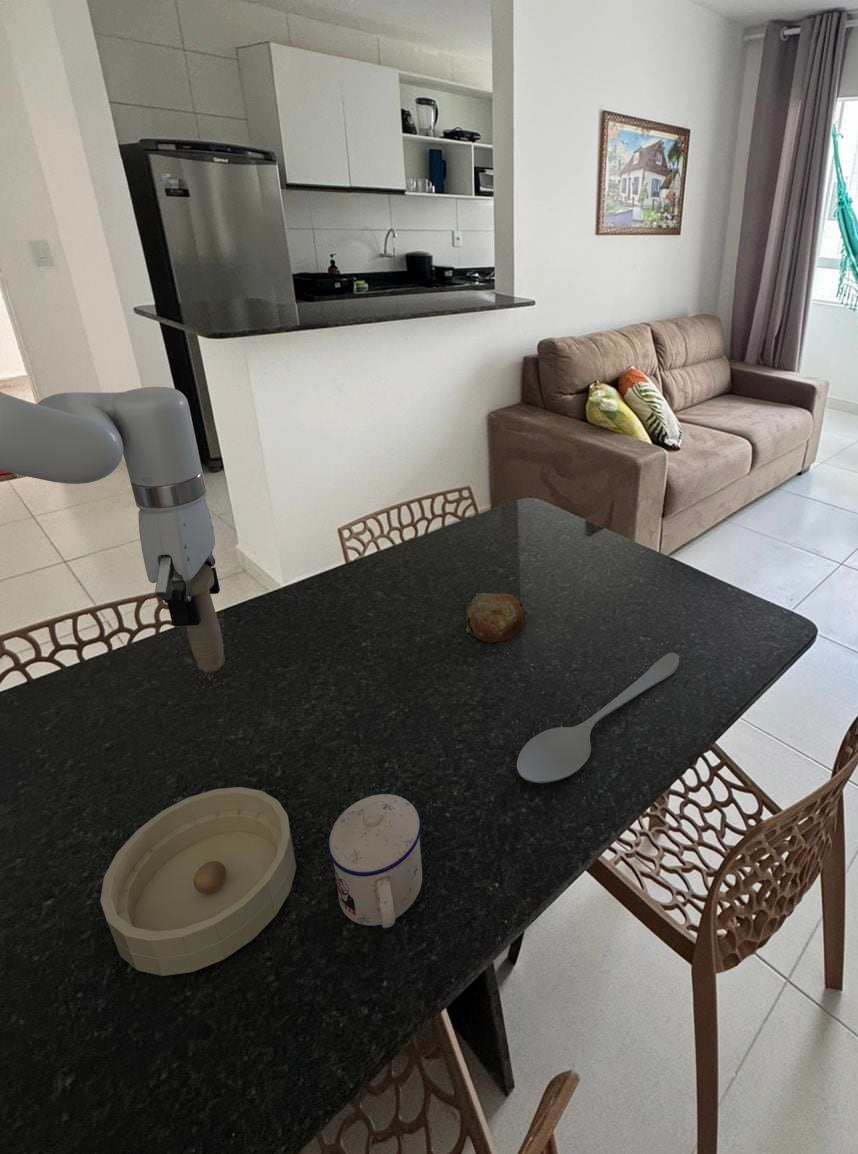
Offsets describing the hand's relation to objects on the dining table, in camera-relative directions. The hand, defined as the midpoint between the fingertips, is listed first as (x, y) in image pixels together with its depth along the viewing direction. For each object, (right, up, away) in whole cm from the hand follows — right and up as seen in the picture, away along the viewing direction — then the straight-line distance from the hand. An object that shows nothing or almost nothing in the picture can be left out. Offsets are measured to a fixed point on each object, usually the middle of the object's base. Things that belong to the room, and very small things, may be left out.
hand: (197, 607), depth 89 cm
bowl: (+13, -27, -19) cm, 35 cm away
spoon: (+56, -18, +8) cm, 59 cm away
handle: (0, -9, +4) cm, 10 cm away
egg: (+13, -25, -19) cm, 34 cm away
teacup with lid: (+31, -28, -18) cm, 46 cm away
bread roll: (+36, -8, +26) cm, 45 cm away
